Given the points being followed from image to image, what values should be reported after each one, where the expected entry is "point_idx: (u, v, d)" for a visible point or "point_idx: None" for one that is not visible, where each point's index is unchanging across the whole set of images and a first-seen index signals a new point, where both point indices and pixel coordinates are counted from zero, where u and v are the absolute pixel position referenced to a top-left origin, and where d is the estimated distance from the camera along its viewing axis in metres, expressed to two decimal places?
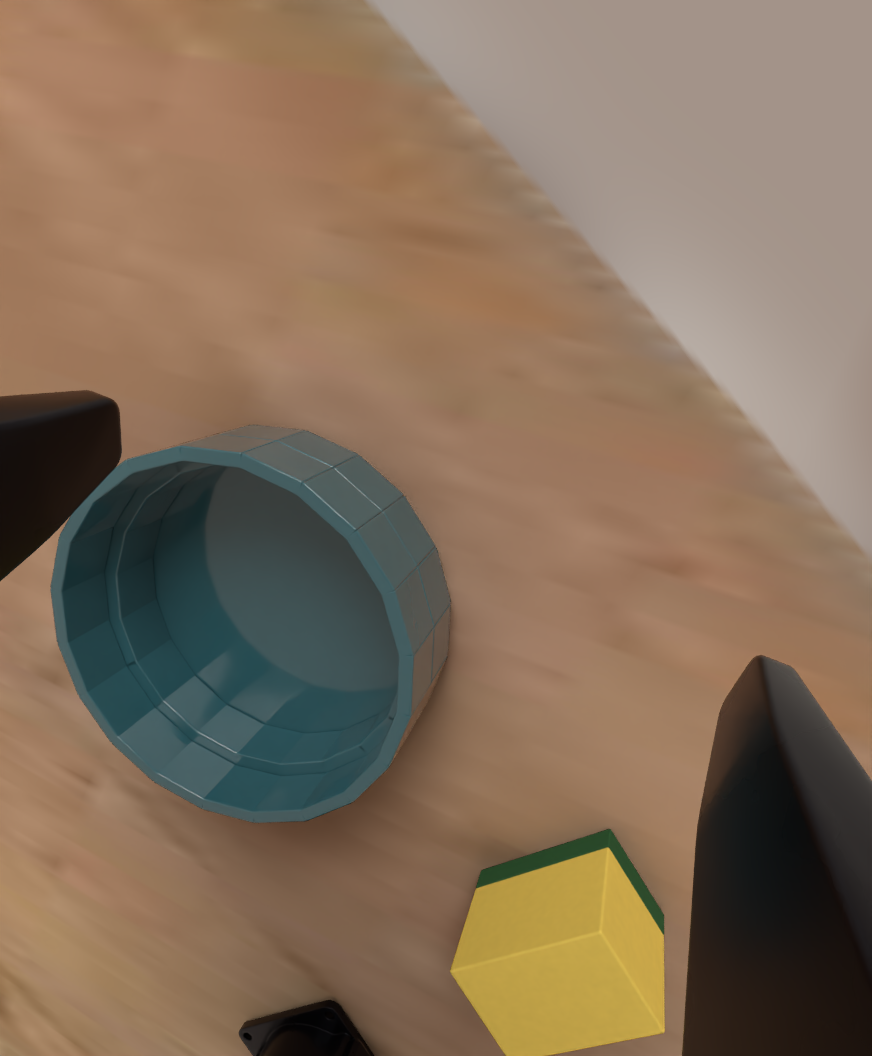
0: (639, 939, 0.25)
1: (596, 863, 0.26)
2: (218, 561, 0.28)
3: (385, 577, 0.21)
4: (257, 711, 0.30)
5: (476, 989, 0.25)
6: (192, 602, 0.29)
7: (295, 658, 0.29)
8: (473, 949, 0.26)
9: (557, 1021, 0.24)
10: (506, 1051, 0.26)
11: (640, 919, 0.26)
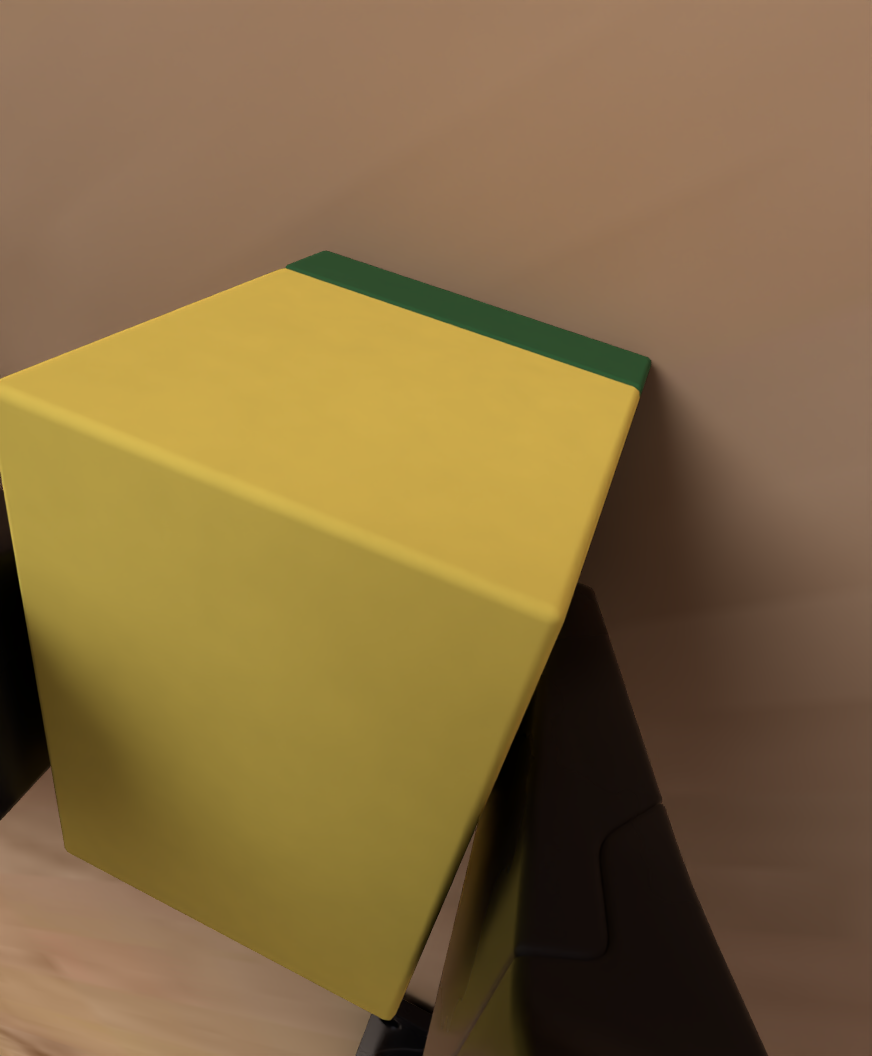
0: (413, 394, 0.06)
1: None
2: None
3: None
4: None
5: (127, 861, 0.08)
6: None
7: None
8: None
9: (305, 831, 0.06)
10: (346, 994, 0.08)
11: (448, 361, 0.07)
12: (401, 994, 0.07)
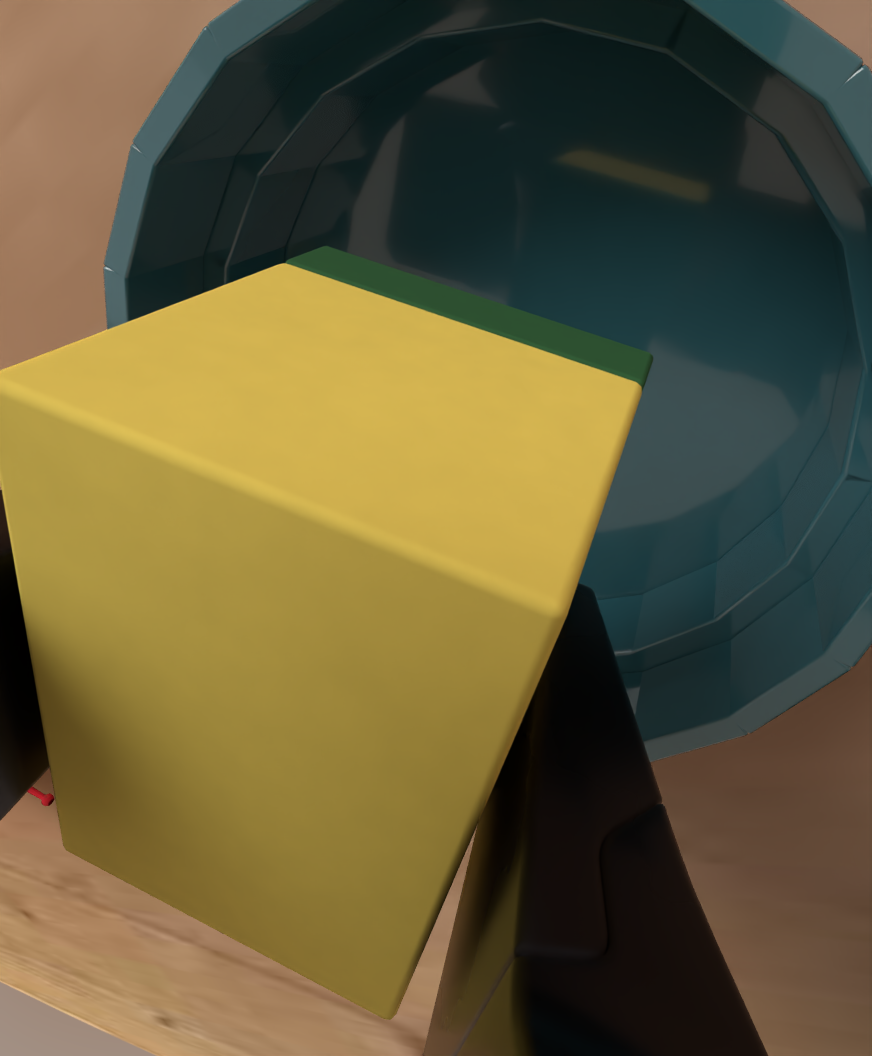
0: (413, 388, 0.06)
1: None
2: None
3: None
4: (619, 582, 0.17)
5: (125, 860, 0.08)
6: None
7: None
8: None
9: (305, 829, 0.06)
10: (346, 994, 0.08)
11: (449, 356, 0.07)
12: (402, 993, 0.07)
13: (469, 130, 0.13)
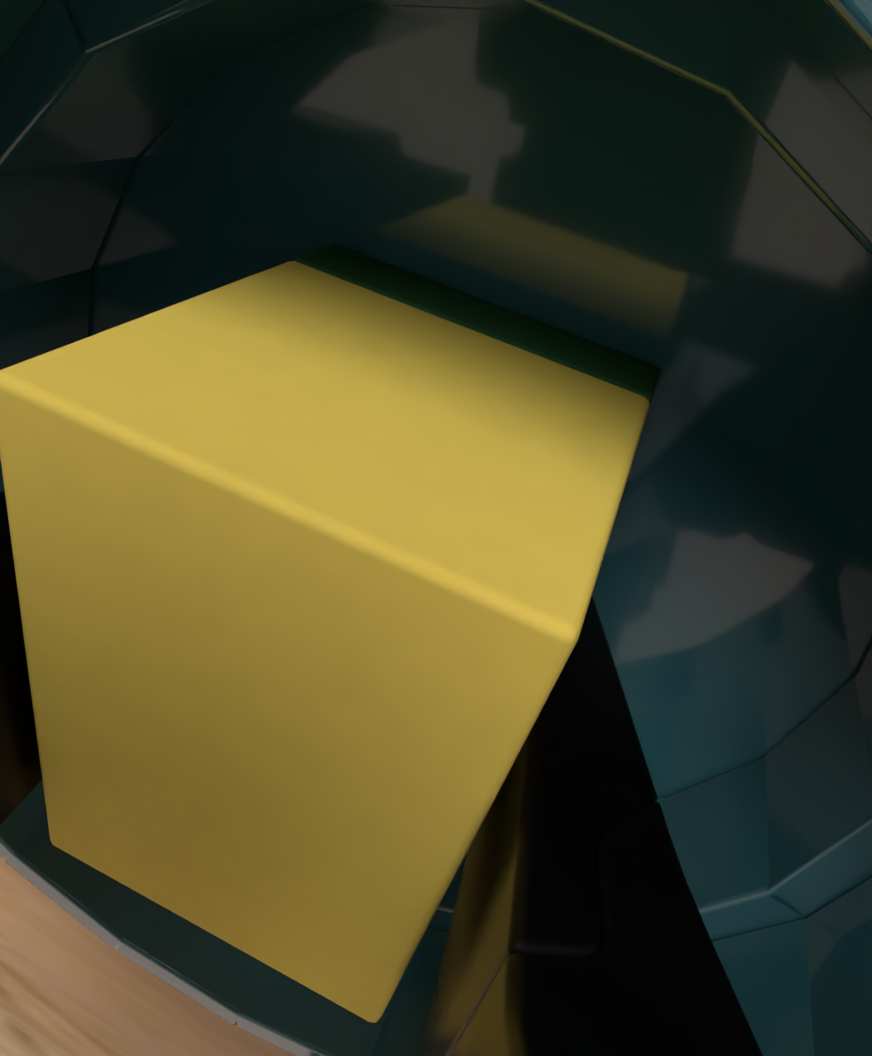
0: (425, 398, 0.06)
1: None
2: None
3: None
4: None
5: (114, 856, 0.08)
6: None
7: None
8: None
9: (300, 835, 0.06)
10: (332, 996, 0.08)
11: (459, 364, 0.07)
12: (388, 997, 0.07)
13: (624, 206, 0.07)
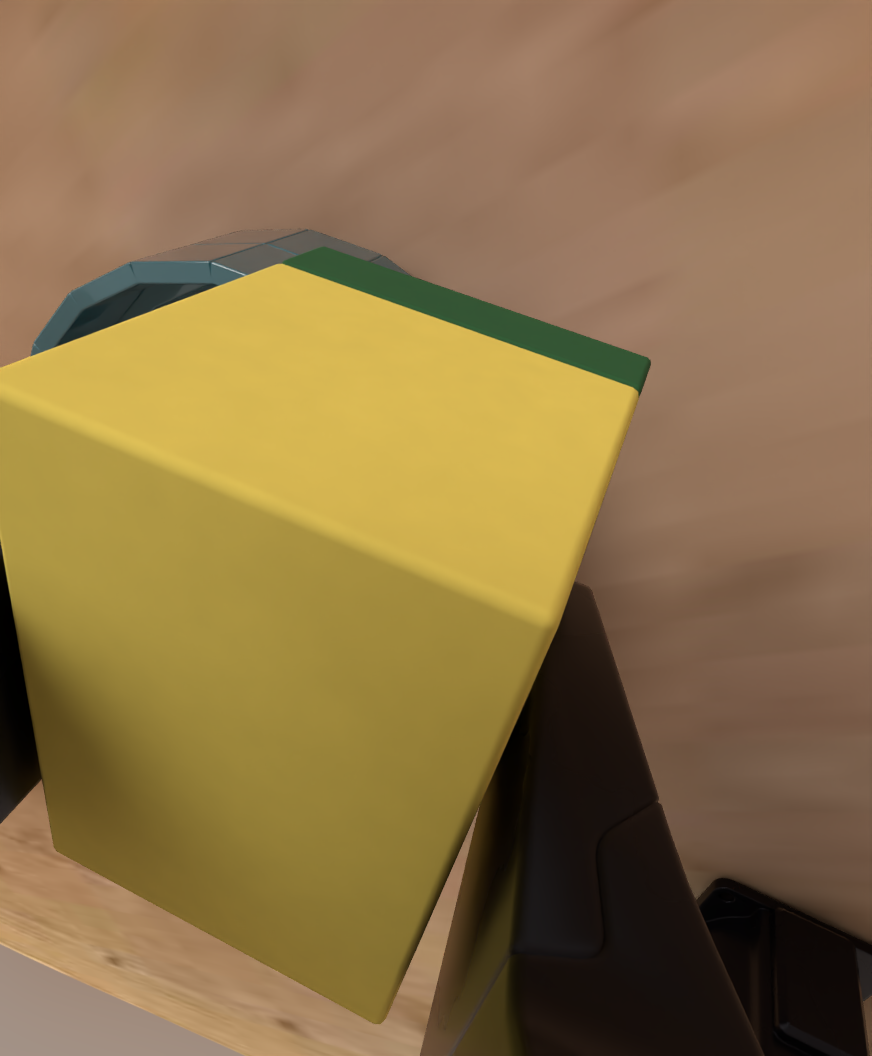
0: (409, 392, 0.06)
1: None
2: None
3: None
4: None
5: (116, 861, 0.08)
6: None
7: None
8: None
9: (295, 834, 0.06)
10: (335, 998, 0.07)
11: (445, 359, 0.07)
12: (391, 998, 0.07)
13: None
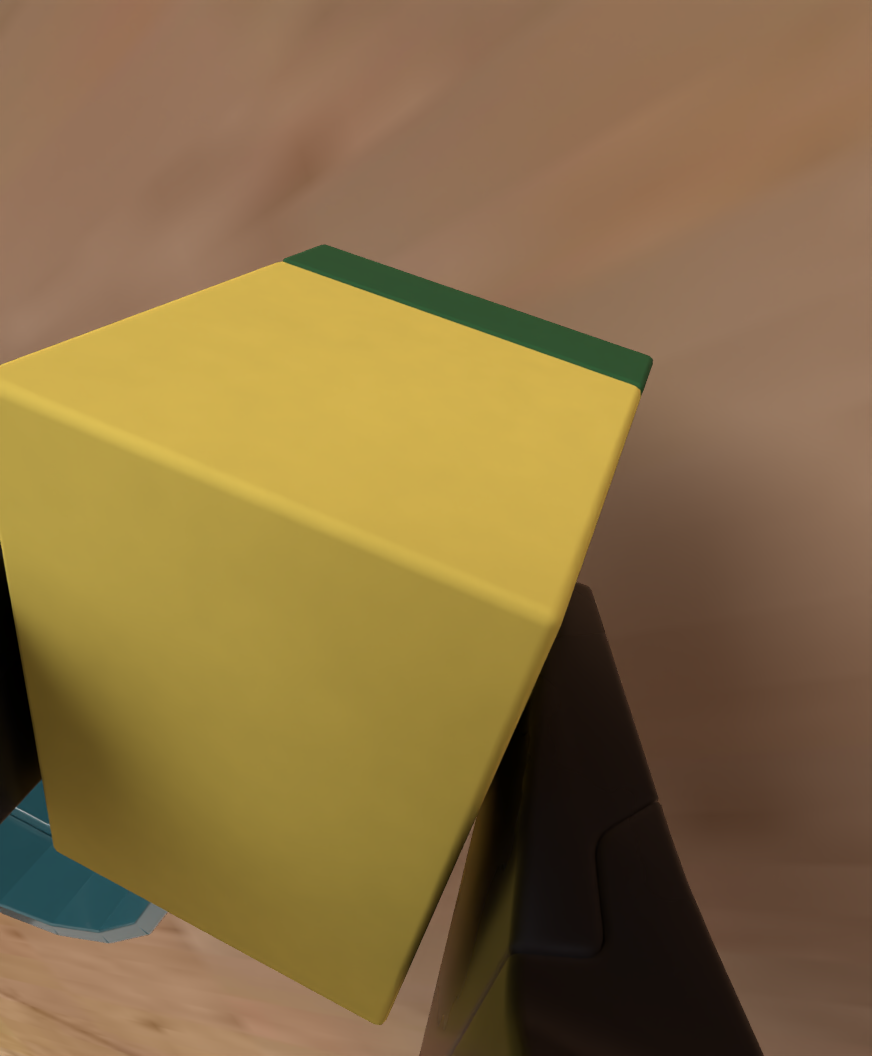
0: (410, 392, 0.06)
1: None
2: None
3: None
4: None
5: (116, 861, 0.08)
6: None
7: None
8: None
9: (296, 834, 0.06)
10: (336, 998, 0.07)
11: (447, 358, 0.07)
12: (392, 999, 0.07)
13: None
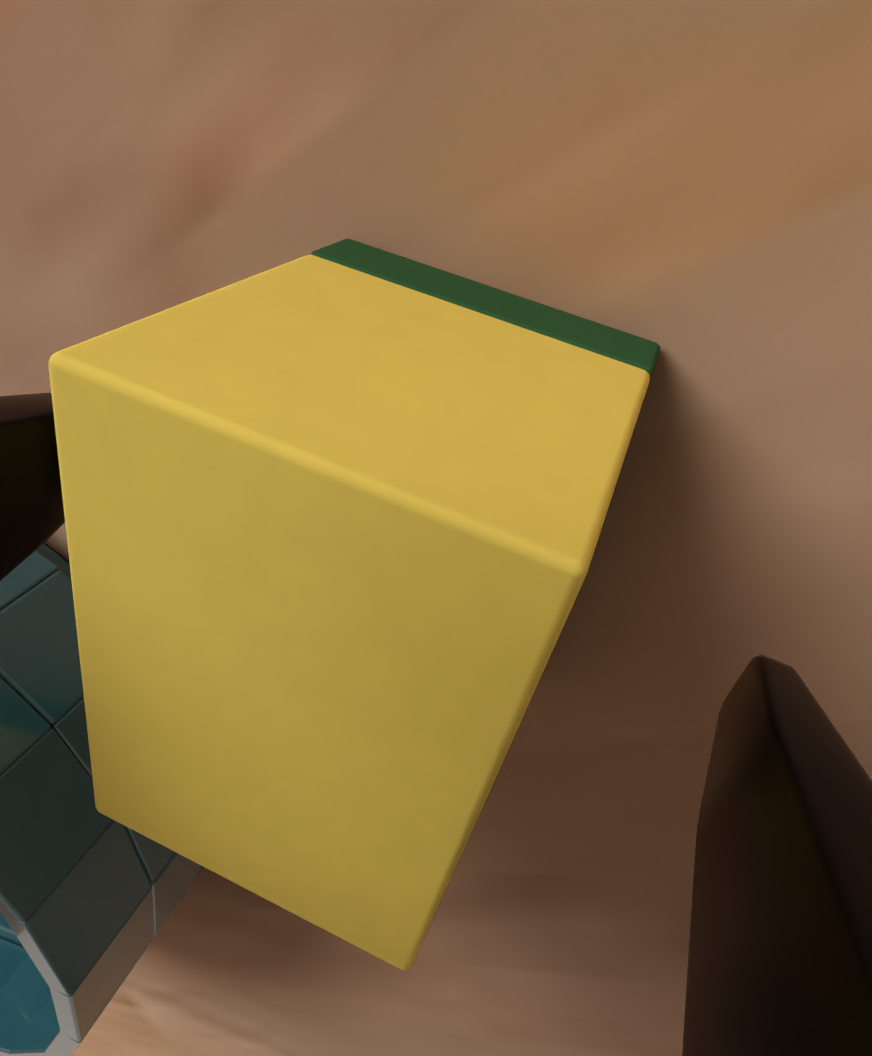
0: (439, 372, 0.06)
1: None
2: None
3: None
4: None
5: (157, 819, 0.08)
6: None
7: None
8: None
9: (334, 783, 0.07)
10: (365, 946, 0.08)
11: (470, 343, 0.07)
12: (419, 943, 0.08)
13: None
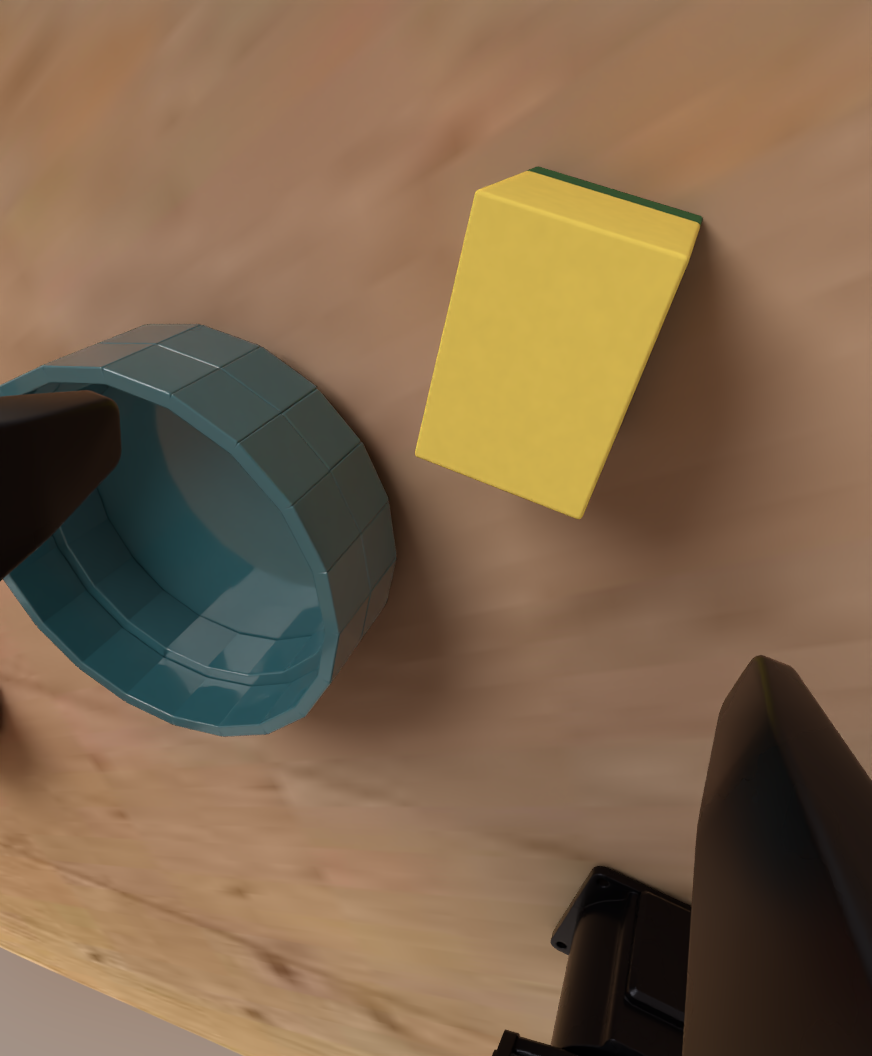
0: (612, 211, 0.15)
1: None
2: (164, 519, 0.28)
3: (154, 388, 0.19)
4: (298, 628, 0.28)
5: (454, 449, 0.17)
6: (183, 571, 0.29)
7: (277, 555, 0.26)
8: None
9: (563, 395, 0.15)
10: (560, 506, 0.16)
11: (618, 205, 0.16)
12: (590, 495, 0.16)
13: None
